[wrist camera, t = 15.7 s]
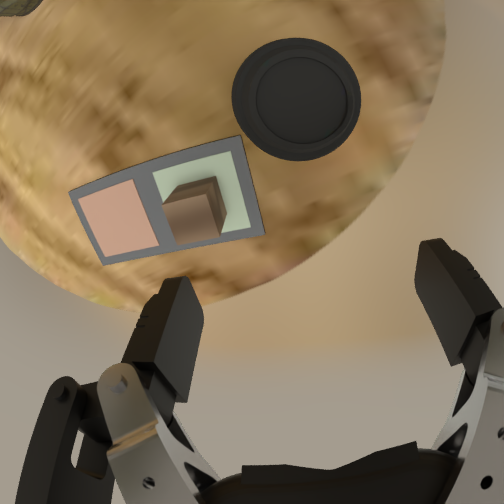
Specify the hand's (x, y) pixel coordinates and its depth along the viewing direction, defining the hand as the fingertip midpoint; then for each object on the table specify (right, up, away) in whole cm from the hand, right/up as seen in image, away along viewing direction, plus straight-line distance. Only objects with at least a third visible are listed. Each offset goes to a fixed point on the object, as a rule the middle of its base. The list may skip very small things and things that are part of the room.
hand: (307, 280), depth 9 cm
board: (-14, +7, +27) cm, 31 cm away
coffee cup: (+2, +18, +19) cm, 26 cm away
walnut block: (-8, +7, +25) cm, 27 cm away
